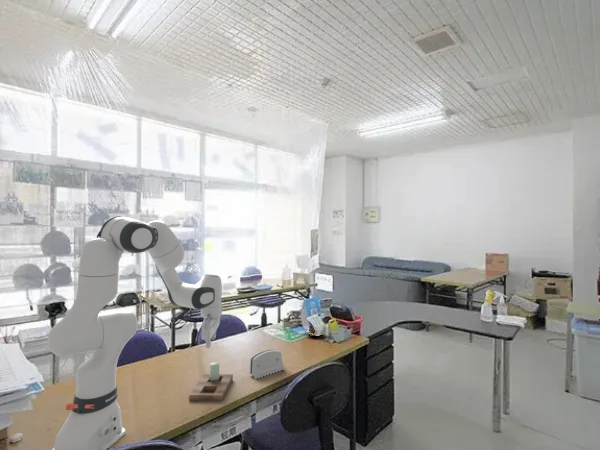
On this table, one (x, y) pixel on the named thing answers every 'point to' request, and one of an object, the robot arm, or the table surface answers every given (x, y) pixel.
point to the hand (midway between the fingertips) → (210, 342)
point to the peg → (214, 372)
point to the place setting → (311, 331)
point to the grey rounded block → (266, 363)
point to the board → (211, 388)
